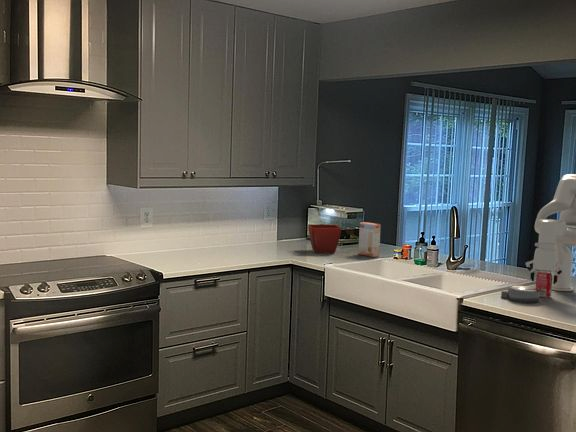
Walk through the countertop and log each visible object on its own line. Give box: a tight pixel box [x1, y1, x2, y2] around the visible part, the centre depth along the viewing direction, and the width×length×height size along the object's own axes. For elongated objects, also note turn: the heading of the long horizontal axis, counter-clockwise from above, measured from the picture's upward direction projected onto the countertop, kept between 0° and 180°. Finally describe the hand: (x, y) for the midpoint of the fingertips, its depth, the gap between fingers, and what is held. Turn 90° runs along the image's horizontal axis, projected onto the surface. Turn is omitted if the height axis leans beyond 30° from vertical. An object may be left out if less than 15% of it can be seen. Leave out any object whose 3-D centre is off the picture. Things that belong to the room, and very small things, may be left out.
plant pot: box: [307, 224, 342, 254], centre depth 416 cm, size 19×19×17 cm
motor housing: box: [500, 285, 541, 305], centre depth 294 cm, size 14×16×6 cm
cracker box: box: [357, 221, 382, 258], centre depth 405 cm, size 14×6×21 cm, turn 34°
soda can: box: [535, 270, 553, 299], centre depth 302 cm, size 7×7×12 cm
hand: (543, 282), depth 302 cm, fingers open, 9 cm apart
